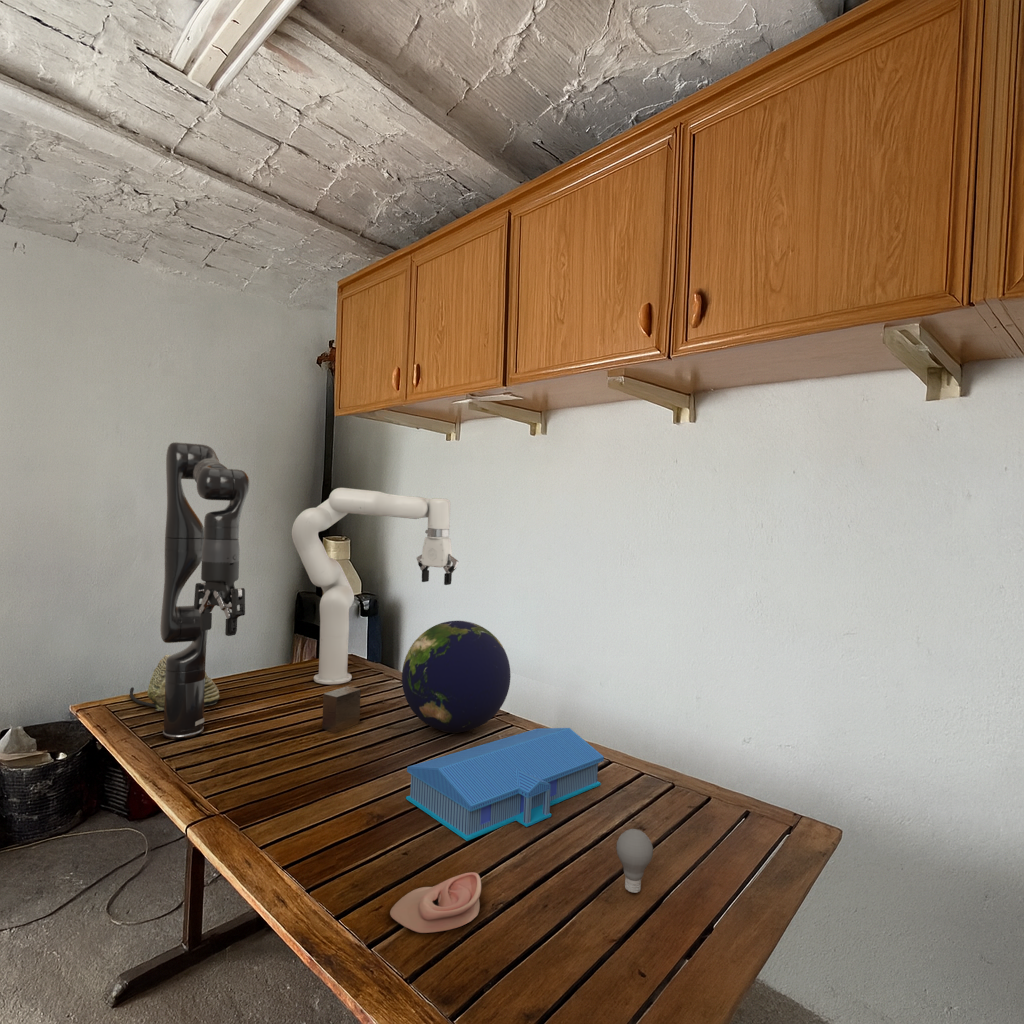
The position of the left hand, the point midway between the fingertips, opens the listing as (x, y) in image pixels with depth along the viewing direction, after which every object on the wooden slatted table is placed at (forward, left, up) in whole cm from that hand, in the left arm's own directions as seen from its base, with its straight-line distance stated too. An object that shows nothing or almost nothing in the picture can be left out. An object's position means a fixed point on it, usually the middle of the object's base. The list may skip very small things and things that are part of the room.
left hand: (218, 632), depth 139 cm
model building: (+47, +47, -32) cm, 74 cm away
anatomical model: (+68, +11, -32) cm, 76 cm away
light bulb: (+84, +39, -32) cm, 98 cm away
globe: (+9, +61, -32) cm, 70 cm away
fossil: (-53, +9, -32) cm, 63 cm away
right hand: (-32, +83, +2) cm, 89 cm away
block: (-12, +38, -32) cm, 51 cm away
